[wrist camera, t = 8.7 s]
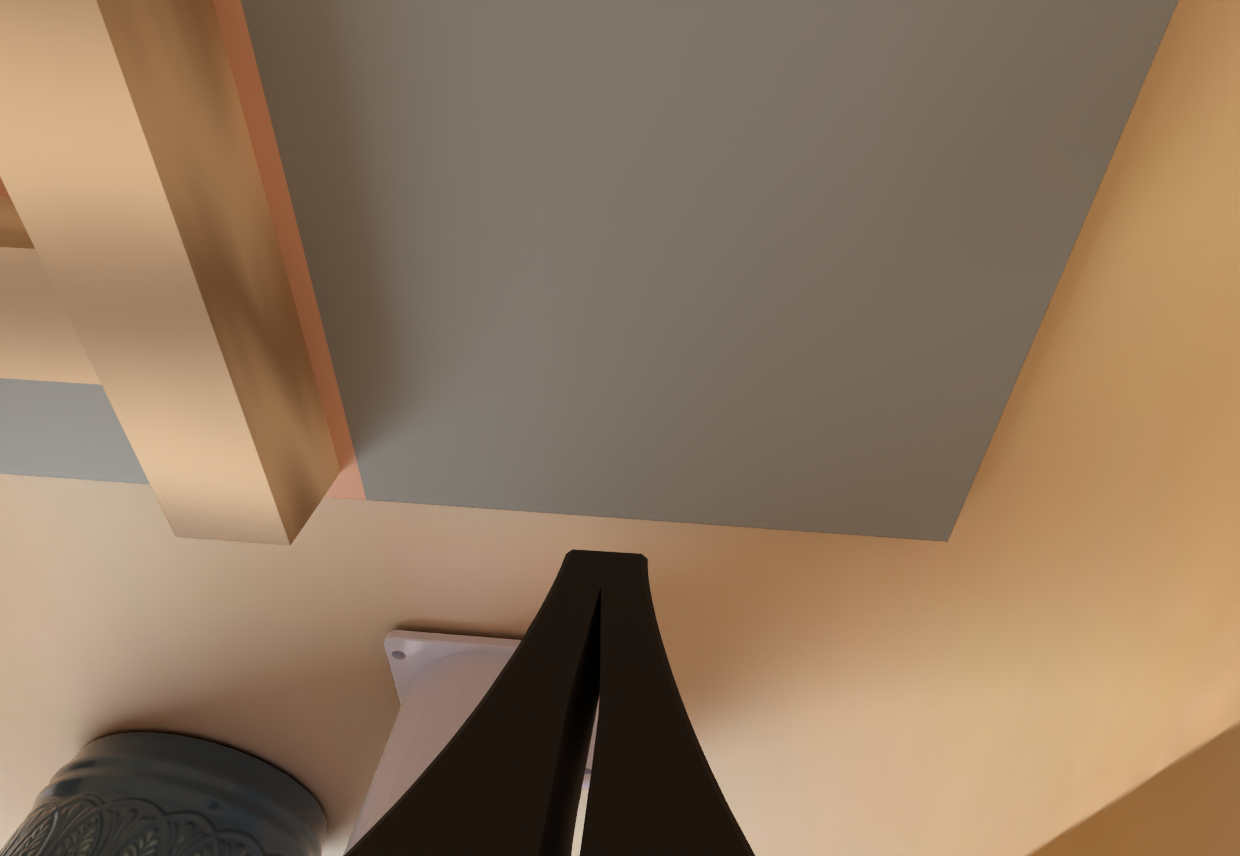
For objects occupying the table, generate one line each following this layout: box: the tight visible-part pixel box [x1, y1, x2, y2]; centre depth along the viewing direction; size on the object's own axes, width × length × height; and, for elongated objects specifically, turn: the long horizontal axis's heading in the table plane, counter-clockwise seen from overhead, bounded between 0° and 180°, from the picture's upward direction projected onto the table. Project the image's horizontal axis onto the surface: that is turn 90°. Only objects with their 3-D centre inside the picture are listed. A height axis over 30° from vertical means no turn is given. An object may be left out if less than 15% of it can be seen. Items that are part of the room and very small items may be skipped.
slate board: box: [0, 0, 1178, 542], centre depth 16 cm, size 14×32×1 cm, turn 89°
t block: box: [0, 0, 341, 545], centre depth 15 cm, size 12×11×3 cm
